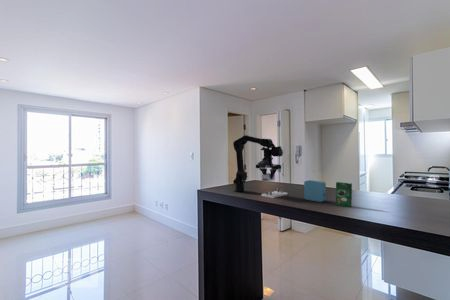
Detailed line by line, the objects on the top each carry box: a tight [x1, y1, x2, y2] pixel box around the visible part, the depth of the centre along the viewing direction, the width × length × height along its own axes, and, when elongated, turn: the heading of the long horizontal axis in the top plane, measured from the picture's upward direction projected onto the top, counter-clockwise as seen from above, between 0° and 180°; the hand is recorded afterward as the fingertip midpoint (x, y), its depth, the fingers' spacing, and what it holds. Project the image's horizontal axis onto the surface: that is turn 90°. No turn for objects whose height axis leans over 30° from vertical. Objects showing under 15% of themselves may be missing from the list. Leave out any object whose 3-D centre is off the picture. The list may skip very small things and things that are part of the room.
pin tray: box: [261, 188, 289, 199], centre depth 158 cm, size 10×17×3 cm, turn 131°
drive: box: [261, 172, 276, 183], centre depth 157 cm, size 5×10×5 cm, turn 142°
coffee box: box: [335, 181, 353, 208], centre depth 126 cm, size 8×3×13 cm, turn 54°
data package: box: [303, 179, 327, 203], centre depth 141 cm, size 12×4×12 cm, turn 42°
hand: (268, 178), depth 158 cm, fingers closed on drive, 5 cm apart
